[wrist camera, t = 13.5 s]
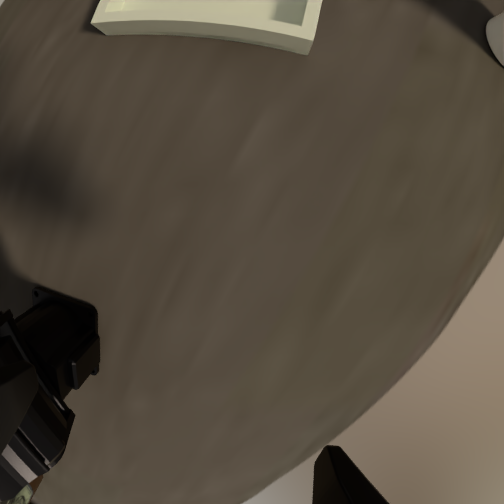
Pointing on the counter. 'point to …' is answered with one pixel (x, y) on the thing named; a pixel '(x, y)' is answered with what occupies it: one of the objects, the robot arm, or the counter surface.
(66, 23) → the counter surface
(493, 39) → the drinking glass
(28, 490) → the olive oil
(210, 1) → the tray
